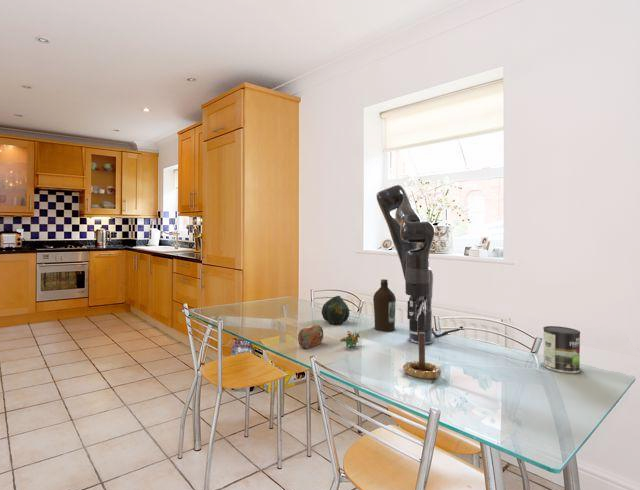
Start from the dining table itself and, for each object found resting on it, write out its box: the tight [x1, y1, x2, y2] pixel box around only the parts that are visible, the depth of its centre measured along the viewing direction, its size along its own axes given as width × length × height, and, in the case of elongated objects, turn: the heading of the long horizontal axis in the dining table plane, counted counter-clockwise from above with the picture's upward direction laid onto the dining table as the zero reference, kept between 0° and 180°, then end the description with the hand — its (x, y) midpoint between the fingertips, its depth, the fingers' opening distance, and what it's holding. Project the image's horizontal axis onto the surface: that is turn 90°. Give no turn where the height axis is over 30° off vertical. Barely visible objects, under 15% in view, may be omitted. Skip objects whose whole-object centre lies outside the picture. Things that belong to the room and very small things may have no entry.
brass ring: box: [402, 360, 442, 380], centre depth 136 cm, size 12×12×2 cm
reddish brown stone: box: [297, 324, 324, 349], centre depth 172 cm, size 15×3×8 cm, turn 131°
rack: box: [404, 332, 438, 384], centre depth 136 cm, size 9×9×15 cm
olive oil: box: [372, 278, 397, 332], centre depth 197 cm, size 11×11×25 cm
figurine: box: [339, 330, 361, 349], centre depth 166 cm, size 3×12×8 cm, turn 121°
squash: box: [321, 295, 350, 325], centre depth 212 cm, size 14×15×15 cm
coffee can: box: [542, 325, 581, 374], centre depth 141 cm, size 10×10×14 cm
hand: (417, 328), depth 132 cm, fingers open, 8 cm apart
